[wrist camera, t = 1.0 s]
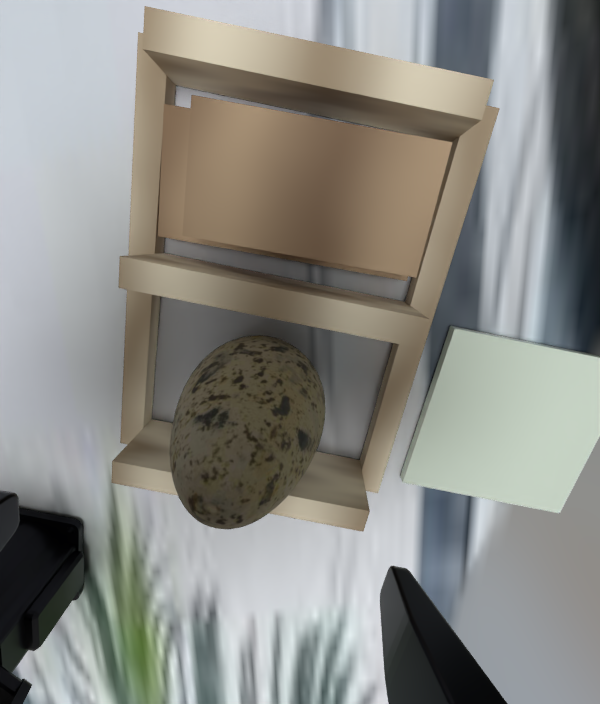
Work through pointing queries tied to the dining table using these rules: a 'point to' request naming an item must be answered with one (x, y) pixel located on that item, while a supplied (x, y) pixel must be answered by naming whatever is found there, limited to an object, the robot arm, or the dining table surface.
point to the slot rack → (274, 291)
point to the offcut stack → (298, 187)
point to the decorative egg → (245, 430)
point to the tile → (506, 420)
